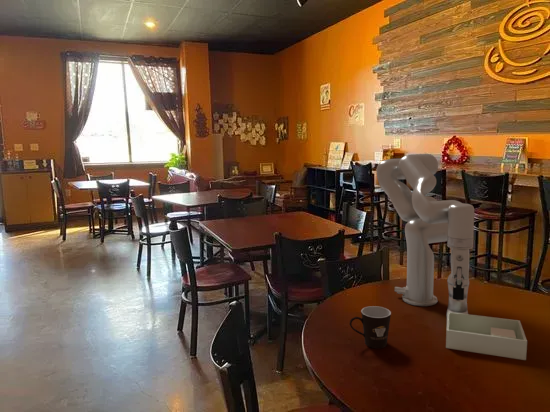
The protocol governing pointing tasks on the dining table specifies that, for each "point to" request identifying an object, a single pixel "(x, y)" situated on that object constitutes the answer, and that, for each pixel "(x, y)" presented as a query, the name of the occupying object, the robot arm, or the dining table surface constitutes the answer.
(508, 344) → the crate
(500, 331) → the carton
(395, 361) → the dining table surface
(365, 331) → the coffee mug
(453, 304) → the plastic bottle
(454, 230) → the robot arm
